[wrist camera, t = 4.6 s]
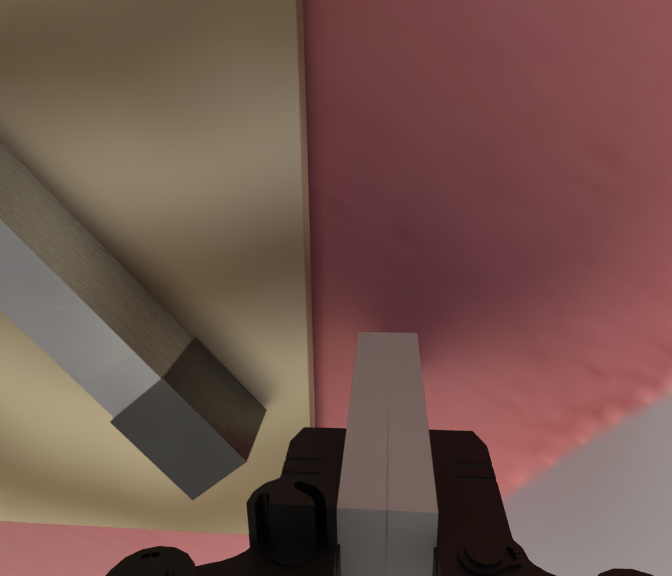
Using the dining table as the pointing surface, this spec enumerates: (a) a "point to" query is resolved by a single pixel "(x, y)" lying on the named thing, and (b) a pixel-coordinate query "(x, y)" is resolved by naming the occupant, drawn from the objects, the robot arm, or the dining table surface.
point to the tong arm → (118, 339)
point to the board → (162, 233)
